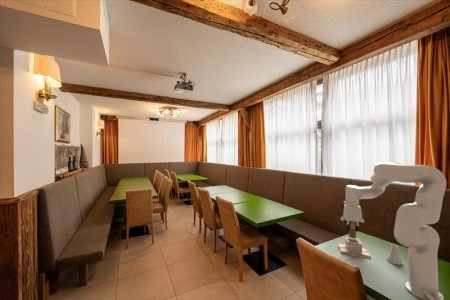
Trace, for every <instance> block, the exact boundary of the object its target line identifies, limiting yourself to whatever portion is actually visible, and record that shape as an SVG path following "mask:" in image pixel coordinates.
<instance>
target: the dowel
mask: <svg viewBox="0 0 450 300" xmlns="http://www.w3.org/2000/svg"><path fill="white" fill-rule="evenodd" d="M349 225H350V231H348V238H354V239H357V232H356V222H354V221H349Z"/></svg>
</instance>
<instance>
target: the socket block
mask: <svg viewBox="0 0 450 300" xmlns="http://www.w3.org/2000/svg"><path fill="white" fill-rule="evenodd" d="M337 247H338V249H339V251H340V253H341V254H342V255H347V256H353V257H357V258H358V257H360V258H366V259H372V256H371V254H370V253H369V252H368V251H367V249H366V248H365V247H363V243H362V242H361V241H360V239H359V238H351V237H346V236H345V237H344V244H342V243H337Z"/></svg>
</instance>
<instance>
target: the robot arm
mask: <svg viewBox="0 0 450 300" xmlns="http://www.w3.org/2000/svg"><path fill="white" fill-rule="evenodd" d="M373 173H374V174H372V175H371V176H370V180H371V182H372V184H371V185H369V186H358V185H355V184H354V185H353V184H347V185H346V186H345V200H344V201H342V203H343V204H344V206H343V215H342V216H341V217H340V220H341V221H342V222H344V223H345V224H346V225H345V227H346V230H347V231H348V232H349V231H350V225H349V221H354V222H356V233H358V232H359V228H360V227H359V226H360V225H362V224H363V223H365V222H366V221H365V220H364V218H363V213H362V209H361V206H360V200H364V199H365V200H368V199H372V200H373V199H375V198H377V197H379V196H380V195H383V193H384V192H385V190H386V189H387V186H390V184H392V183H394V182H399V183H403V184H419V183H420V186H419V188H417V190H416V193H415V198H414V201H413V203H404V204H402V205H401V206H399V208H398V209H397V211H396V216H395V223H394V229H393V236H394V238H395V240H396V242H398V244H400V245H402V246H404V247H406V248H408V281H407V282H405V284H404V288H405V289H406V290H407V291H408V292H409V293H410V294H412V295H413V296H415V297H417V298H420V299H422V300H445V299H444V295H443V294H442V293H441V292H439V272H438V251H439V246H440V239H441V238H440V236H439V233H438V232H437V230H436V229H434V228H433V227H432V226H430V225H434V224H436V223H438V222H439V221H440V216H441V212H442V207H443V200H444V196H445V192H446V188H447V179H446V177H445V175H444V174H443V172H442V171H441V170H440V169H438V168H436V167H434V166H431V165H428V164H426V165H425V164H402V163H400V162H395V161H394V162H393V161H390V162H387V161H385V162H382V161H381V162H378V163H376V165H375V166H374V167H373Z"/></svg>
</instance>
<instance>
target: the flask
mask: <svg viewBox="0 0 450 300" xmlns="http://www.w3.org/2000/svg"><path fill="white" fill-rule="evenodd" d="M398 247H399V246H398V245H396V244H390V252H389V254H388V256H387V258H386V260H387V262H388V263H390V264H392V265H396V266H403V264H404V263H403V261H402V259H401V257H400V255H399V252H398Z"/></svg>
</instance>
